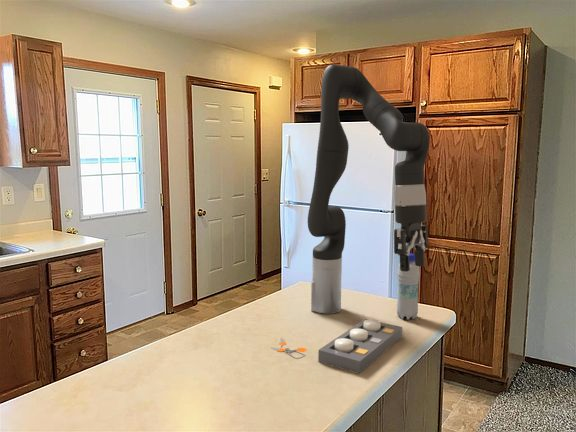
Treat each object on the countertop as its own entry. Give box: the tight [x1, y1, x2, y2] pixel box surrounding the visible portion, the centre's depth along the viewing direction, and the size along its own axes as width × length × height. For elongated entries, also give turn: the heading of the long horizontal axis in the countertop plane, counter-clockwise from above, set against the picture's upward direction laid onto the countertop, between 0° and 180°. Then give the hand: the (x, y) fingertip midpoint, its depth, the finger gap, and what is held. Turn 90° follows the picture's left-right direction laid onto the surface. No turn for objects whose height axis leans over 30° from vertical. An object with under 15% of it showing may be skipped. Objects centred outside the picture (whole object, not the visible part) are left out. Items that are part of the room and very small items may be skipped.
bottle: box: [396, 252, 421, 321], centre depth 146 cm, size 7×7×20 cm
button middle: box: [350, 329, 368, 343], centre depth 124 cm, size 5×5×2 cm
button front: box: [335, 338, 354, 354], centre depth 118 cm, size 5×5×2 cm
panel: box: [317, 318, 403, 374], centre depth 124 cm, size 26×11×3 cm, turn 145°
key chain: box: [270, 337, 308, 360], centre depth 124 cm, size 13×7×1 cm, turn 41°
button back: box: [363, 319, 381, 333], centre depth 131 cm, size 5×5×2 cm
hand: (412, 268), depth 119 cm, fingers open, 8 cm apart
